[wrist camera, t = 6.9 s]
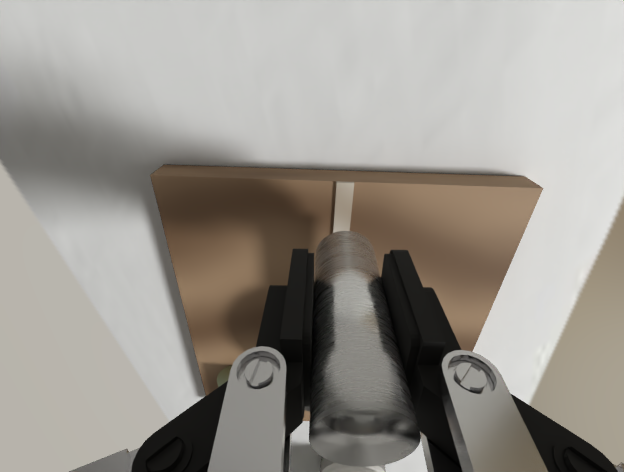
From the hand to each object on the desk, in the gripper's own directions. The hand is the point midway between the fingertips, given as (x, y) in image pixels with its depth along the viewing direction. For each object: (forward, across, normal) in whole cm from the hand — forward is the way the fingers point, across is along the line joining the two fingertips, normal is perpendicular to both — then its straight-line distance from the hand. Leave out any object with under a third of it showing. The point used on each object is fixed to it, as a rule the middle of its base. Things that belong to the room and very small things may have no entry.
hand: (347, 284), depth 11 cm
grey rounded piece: (+4, 0, +5) cm, 7 cm away
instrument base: (+6, 0, +8) cm, 10 cm away
